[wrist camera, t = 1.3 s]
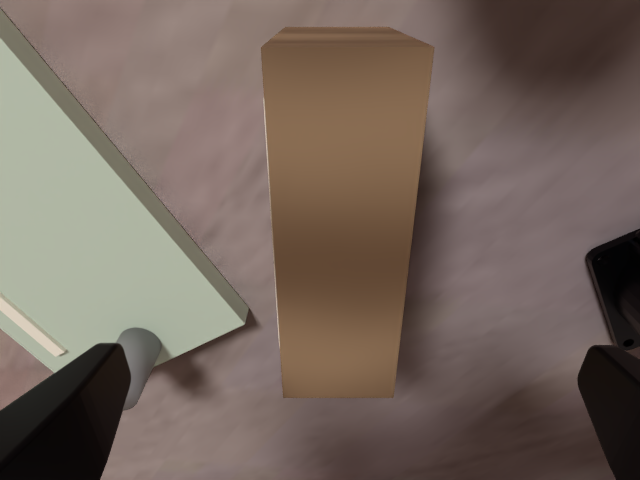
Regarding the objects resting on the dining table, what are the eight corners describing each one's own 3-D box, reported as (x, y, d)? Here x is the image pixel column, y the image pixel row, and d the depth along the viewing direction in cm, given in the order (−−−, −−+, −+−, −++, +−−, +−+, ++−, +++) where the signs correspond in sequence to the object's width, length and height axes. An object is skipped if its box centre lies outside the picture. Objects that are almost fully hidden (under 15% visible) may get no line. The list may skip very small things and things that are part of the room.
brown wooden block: (371, 276, 20) (393, 397, 14) (291, 276, 20) (278, 397, 14) (388, 27, 15) (434, 46, 9) (281, 27, 15) (254, 47, 9)
